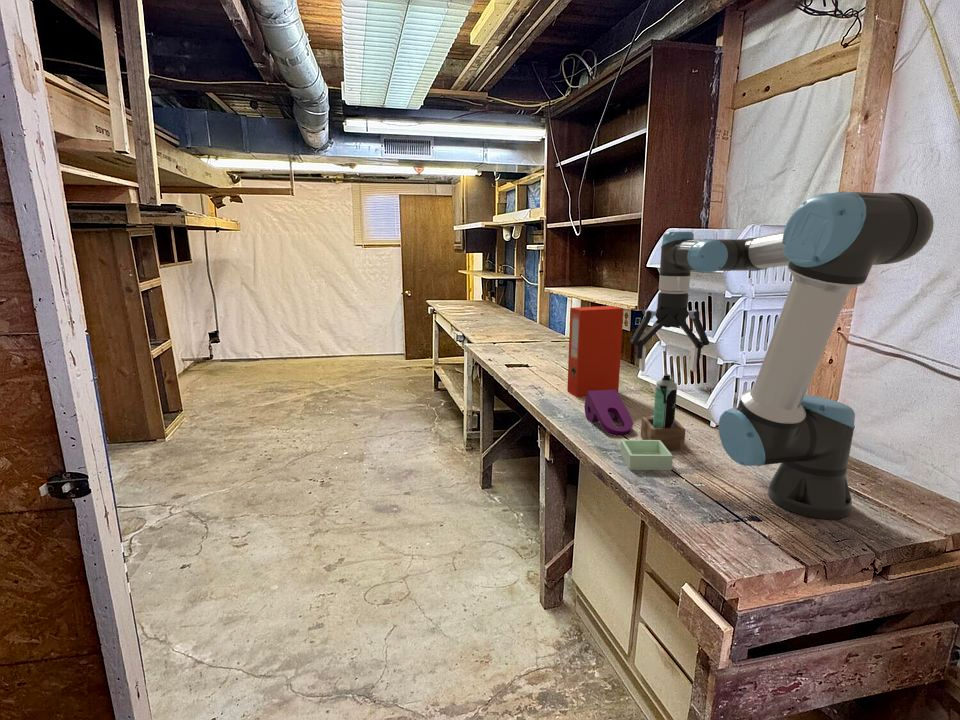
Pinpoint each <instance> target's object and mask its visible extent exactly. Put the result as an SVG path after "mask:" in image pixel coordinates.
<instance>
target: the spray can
mask: <svg viewBox="0 0 960 720" xmlns="http://www.w3.org/2000/svg"><path fill="white" fill-rule="evenodd" d="M677 391H678V384H677V383H676V382H674V381H673V378H672V377H671V374H664V375H663V377H662V378H661V380H659V381H656V385H655V394H654V405H653V415H654V418H653V427H654V428H674V419H676V417H675V415H676V407H677V406H676V405H677V393H678V392H677Z"/></svg>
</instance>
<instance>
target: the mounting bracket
mask: <svg viewBox="0 0 960 720" xmlns="http://www.w3.org/2000/svg"><path fill="white" fill-rule="evenodd" d="M584 414H585V418H586V420H587V421H588V422H589V423H597V422H599V425H600V427H601V428H602V429H603V431H604V432H606V433H607V434H608V435H611V436H614V435H616V436H617V437H620V436H621V435H624V436H627V434H628V435H629V434H630V433H631V432H632V428H633V426H634V420H633V418H632V416H631V414H630V413H629V410H628V409H627V407H626V405H625V404H624V402H623V400H622V398H621V396H620V394H619V391H618V392H617V390H616V389H613V390H596V391H588V393H587V396H585V401H584ZM615 421H618V422H619V425H620V426H621V427H620V426H616V425H615V423H614V422H615ZM618 435H619V436H618ZM616 436H615V437H616ZM621 437H622V436H621Z"/></svg>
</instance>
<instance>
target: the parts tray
mask: <svg viewBox="0 0 960 720" xmlns="http://www.w3.org/2000/svg"><path fill="white" fill-rule="evenodd" d="M619 454H620V456H621V457H622V460H623V461H624V463H625V465H626V466H627V469H628V470H629V471H635V470H636V471H672V470H673V469H672V468H673V459H674V457H673V454H672V453H671V452H670V450H668V449H667V448H666V447H665V446H664V444H663V443H662V442H661V441H660V440H643V439H620V446H619Z"/></svg>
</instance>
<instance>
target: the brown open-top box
mask: <svg viewBox="0 0 960 720" xmlns="http://www.w3.org/2000/svg"><path fill="white" fill-rule="evenodd" d="M653 418H654V414H653V415H650V416H641V423H640V425H641V426H640V437H641V440H660V441H661V442H662V443H663V444H664V446H665V447H666V448H667V449H668V451H684V450H685V439H686V428H685V427H684V426H683V425H682V424H681V423H680V422H679V421H678V420H677V419H676V418H675V419H674V428H654V427H653Z"/></svg>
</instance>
